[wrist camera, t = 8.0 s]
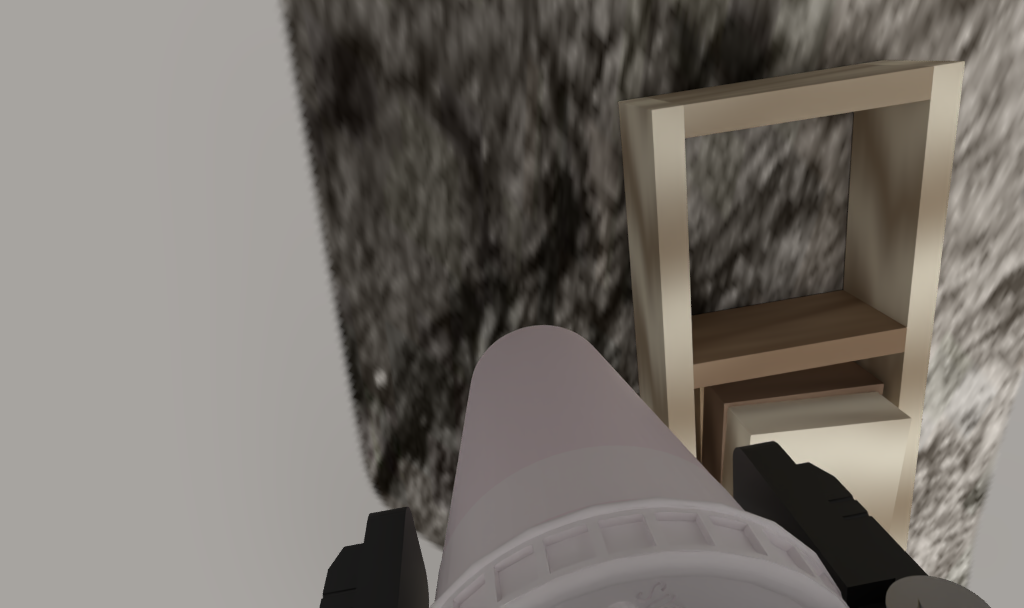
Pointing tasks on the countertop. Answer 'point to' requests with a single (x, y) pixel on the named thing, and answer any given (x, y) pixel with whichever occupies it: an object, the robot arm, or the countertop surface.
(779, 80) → the offcut rack
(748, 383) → the block
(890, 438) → the offcut top
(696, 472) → the smoothie
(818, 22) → the countertop surface
